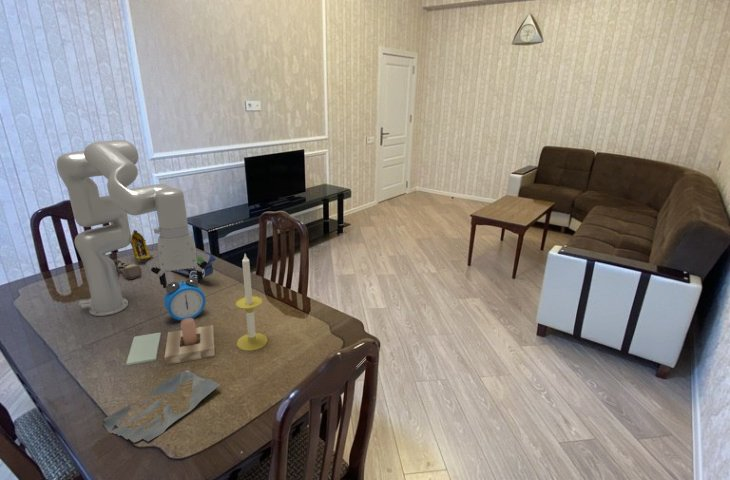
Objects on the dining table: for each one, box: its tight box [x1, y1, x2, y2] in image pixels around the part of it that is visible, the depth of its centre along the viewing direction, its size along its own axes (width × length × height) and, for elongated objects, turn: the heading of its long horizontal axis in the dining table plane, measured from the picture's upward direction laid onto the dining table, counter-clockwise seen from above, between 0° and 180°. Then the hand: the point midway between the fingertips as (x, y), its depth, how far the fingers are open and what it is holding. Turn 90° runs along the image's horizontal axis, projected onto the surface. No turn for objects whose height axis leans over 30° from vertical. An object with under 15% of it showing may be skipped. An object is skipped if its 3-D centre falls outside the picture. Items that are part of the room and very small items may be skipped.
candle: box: [235, 253, 269, 352], centre depth 126 cm, size 10×10×32 cm
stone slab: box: [102, 369, 221, 443], centre depth 103 cm, size 24×16×2 cm, turn 148°
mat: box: [125, 332, 162, 367], centre depth 126 cm, size 8×15×1 cm, turn 21°
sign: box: [171, 251, 216, 280], centre depth 174 cm, size 35×4×14 cm, turn 55°
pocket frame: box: [164, 324, 216, 366], centre depth 127 cm, size 14×14×3 cm
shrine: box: [130, 229, 154, 262], centre depth 189 cm, size 12×8×15 cm
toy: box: [114, 260, 142, 280], centre depth 176 cm, size 7×8×15 cm
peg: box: [180, 318, 199, 346], centre depth 126 cm, size 4×4×10 cm
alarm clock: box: [163, 277, 207, 323], centre depth 142 cm, size 13×6×15 cm, turn 128°
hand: (182, 284), depth 119 cm, fingers open, 9 cm apart
